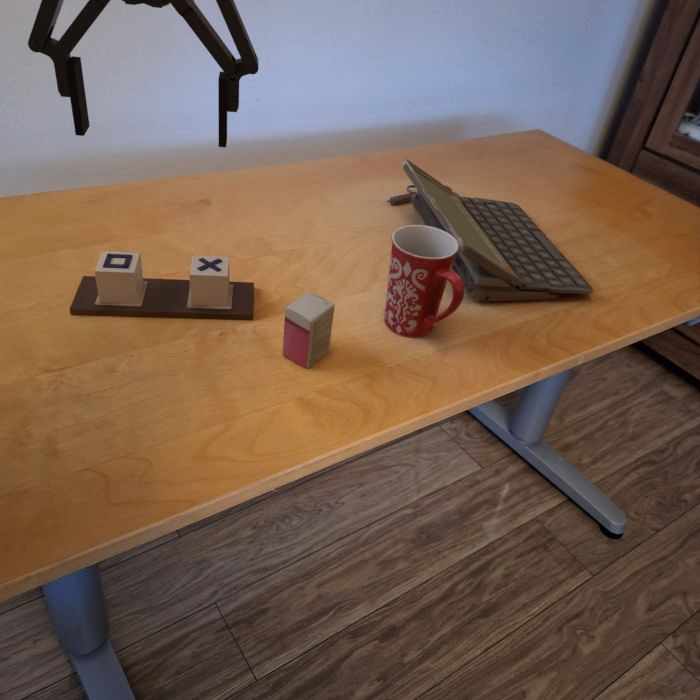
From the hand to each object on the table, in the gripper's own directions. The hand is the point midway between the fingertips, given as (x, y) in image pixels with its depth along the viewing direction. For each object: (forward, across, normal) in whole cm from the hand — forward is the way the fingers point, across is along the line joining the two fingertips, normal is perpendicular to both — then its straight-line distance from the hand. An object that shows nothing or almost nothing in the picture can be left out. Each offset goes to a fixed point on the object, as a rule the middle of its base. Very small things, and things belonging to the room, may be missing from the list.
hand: (154, 137), depth 62 cm
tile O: (+26, -7, +10) cm, 29 cm away
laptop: (+27, +51, +28) cm, 64 cm away
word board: (+27, -1, +10) cm, 29 cm away
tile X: (+26, +5, +10) cm, 29 cm away
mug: (+27, +34, +5) cm, 44 cm away
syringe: (+27, +42, +47) cm, 68 cm away
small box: (+27, +18, -1) cm, 33 cm away
